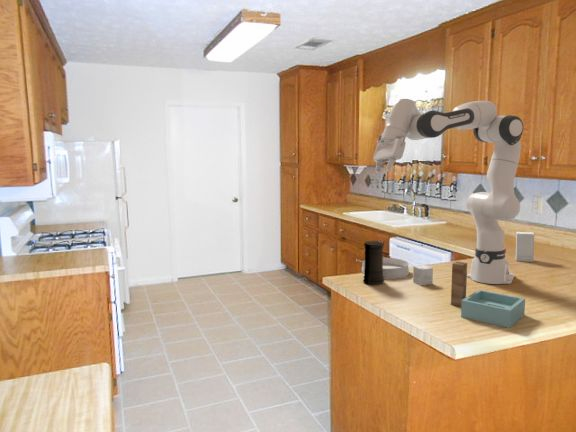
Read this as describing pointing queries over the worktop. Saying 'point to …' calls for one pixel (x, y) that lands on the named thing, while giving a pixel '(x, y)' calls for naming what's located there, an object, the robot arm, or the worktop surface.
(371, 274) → the container
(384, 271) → the dish
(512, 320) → the socket
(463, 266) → the peg
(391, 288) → the worktop surface
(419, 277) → the skincare box
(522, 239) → the skincare box
